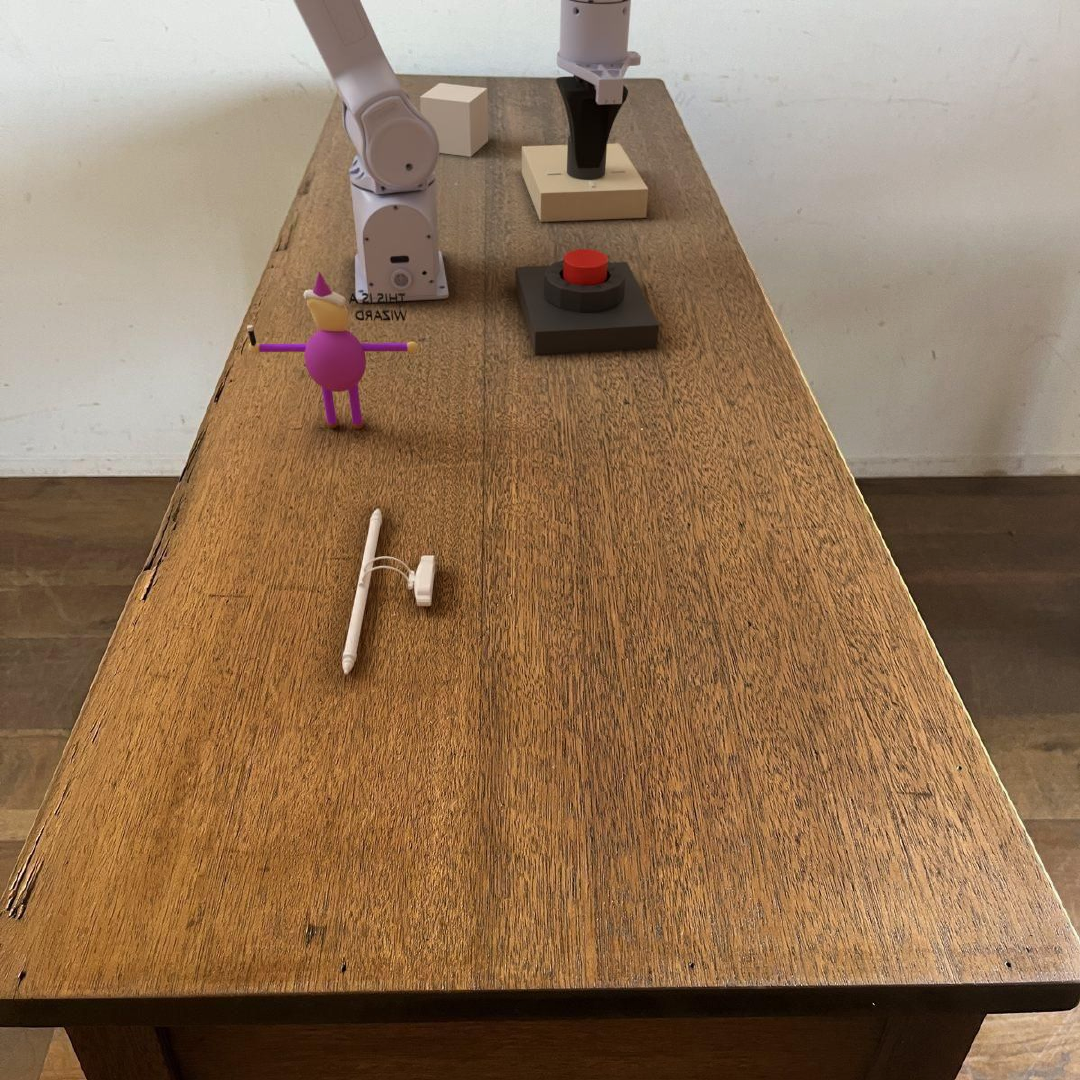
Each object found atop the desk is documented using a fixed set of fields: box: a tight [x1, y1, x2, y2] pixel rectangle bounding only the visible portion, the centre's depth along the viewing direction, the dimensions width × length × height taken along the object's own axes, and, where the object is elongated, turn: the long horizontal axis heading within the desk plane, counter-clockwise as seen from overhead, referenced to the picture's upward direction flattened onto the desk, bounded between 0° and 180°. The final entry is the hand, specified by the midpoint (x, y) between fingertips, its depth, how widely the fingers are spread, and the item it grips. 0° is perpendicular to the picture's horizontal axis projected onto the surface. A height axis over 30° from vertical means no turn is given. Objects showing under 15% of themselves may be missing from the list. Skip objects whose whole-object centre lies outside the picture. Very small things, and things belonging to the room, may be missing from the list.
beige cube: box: [419, 82, 489, 158], centre depth 115 cm, size 6×6×6 cm
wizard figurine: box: [246, 271, 419, 430], centre depth 66 cm, size 11×3×12 cm, turn 92°
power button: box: [563, 248, 609, 286], centre depth 81 cm, size 4×4×2 cm
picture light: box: [341, 508, 436, 675], centre depth 56 cm, size 14×4×2 cm, turn 0°
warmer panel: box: [521, 142, 649, 223], centre depth 104 cm, size 14×11×3 cm
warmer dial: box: [567, 134, 607, 179], centre depth 101 cm, size 4×4×4 cm
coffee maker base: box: [514, 259, 660, 356], centre depth 82 cm, size 12×10×4 cm
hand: (587, 165), depth 89 cm, fingers closed
